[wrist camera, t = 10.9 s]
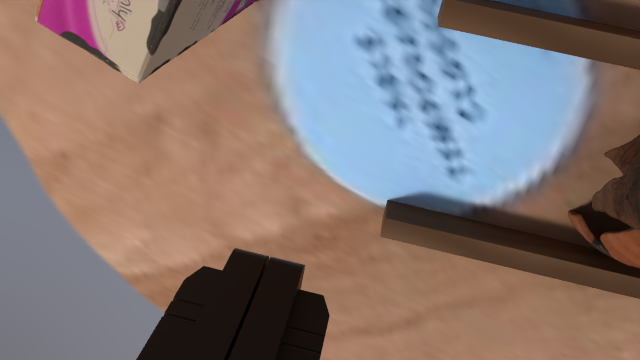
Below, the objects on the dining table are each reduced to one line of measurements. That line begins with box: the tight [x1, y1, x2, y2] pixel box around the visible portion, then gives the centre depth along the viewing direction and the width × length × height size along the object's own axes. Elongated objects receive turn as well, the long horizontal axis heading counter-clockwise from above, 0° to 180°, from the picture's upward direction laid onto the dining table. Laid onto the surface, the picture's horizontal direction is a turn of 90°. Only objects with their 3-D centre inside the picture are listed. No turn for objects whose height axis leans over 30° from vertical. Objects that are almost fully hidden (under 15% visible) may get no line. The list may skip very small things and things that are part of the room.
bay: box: [380, 0, 640, 299], centre depth 35 cm, size 17×26×4 cm, turn 80°
